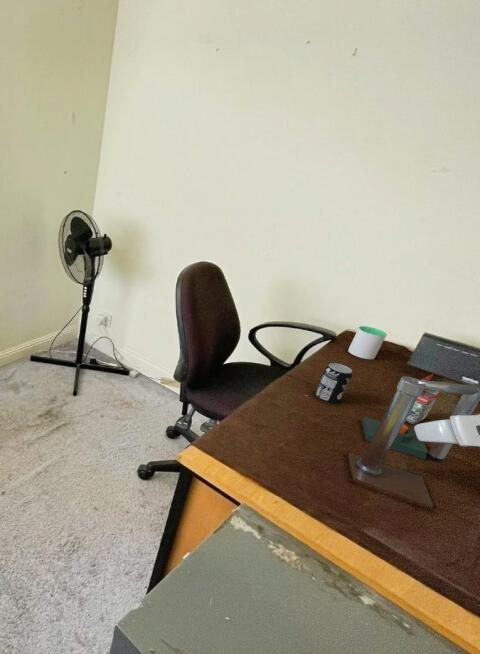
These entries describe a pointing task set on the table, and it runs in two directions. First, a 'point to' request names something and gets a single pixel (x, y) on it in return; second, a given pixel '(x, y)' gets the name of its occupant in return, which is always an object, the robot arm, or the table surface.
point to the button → (403, 429)
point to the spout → (462, 408)
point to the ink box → (422, 405)
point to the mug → (367, 342)
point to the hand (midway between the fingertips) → (439, 437)
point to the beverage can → (333, 382)
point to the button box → (397, 439)
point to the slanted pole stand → (371, 464)
